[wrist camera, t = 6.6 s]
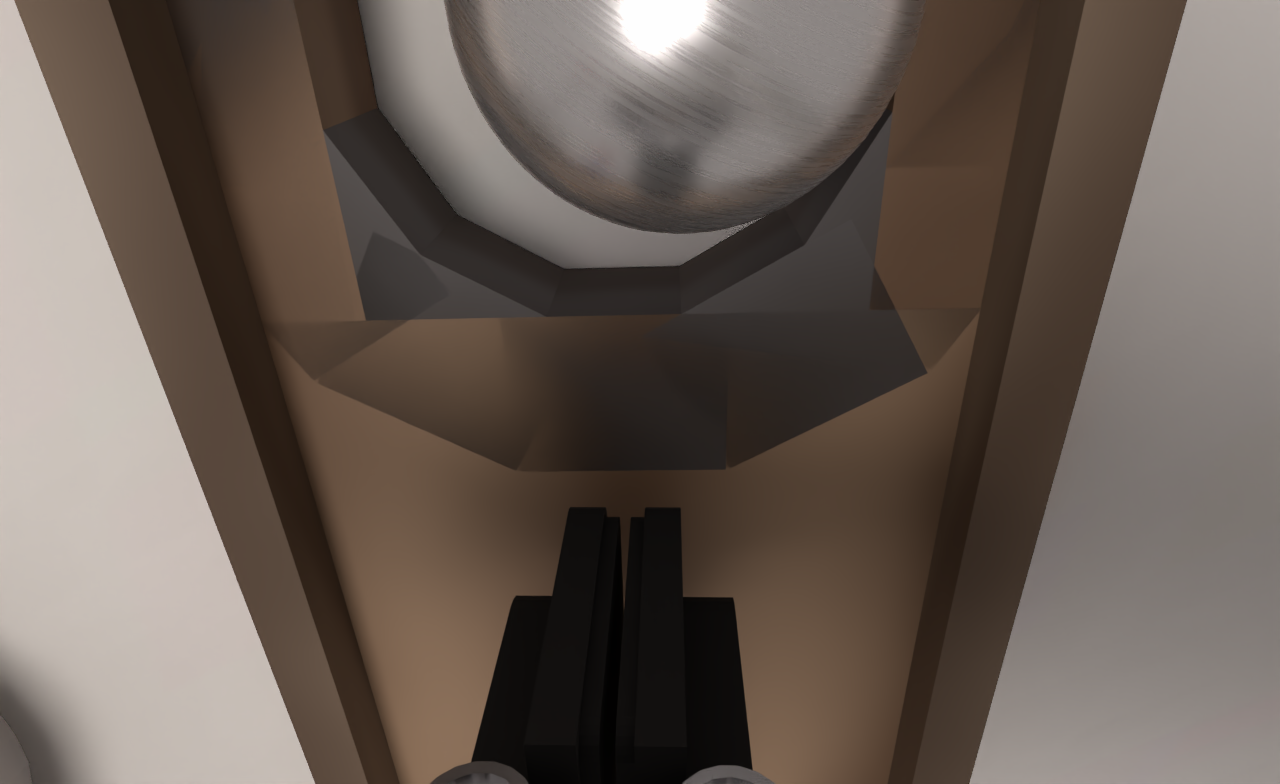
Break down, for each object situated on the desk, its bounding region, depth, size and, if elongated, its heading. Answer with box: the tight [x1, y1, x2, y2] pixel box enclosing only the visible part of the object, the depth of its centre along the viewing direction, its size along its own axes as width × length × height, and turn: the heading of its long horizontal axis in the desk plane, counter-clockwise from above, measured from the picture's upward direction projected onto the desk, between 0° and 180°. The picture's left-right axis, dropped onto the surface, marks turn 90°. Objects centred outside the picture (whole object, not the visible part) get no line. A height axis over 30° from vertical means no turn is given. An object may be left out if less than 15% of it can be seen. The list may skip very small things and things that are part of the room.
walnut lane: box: [14, 0, 1187, 784], centre depth 12 cm, size 12×26×3 cm, turn 2°
